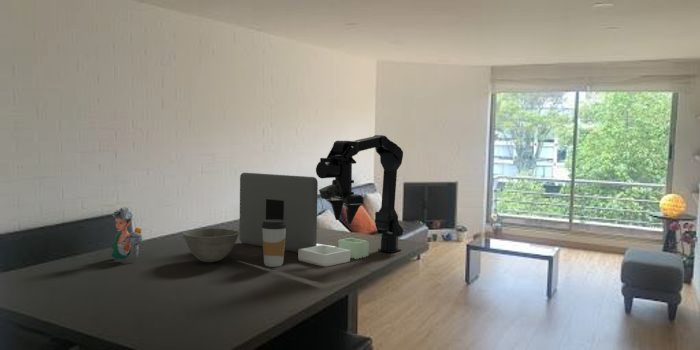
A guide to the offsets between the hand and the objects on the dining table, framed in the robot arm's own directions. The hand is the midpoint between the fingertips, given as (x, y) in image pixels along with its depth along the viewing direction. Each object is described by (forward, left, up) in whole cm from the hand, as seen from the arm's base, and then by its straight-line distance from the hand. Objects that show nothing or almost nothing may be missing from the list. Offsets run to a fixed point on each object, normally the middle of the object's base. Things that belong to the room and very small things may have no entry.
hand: (343, 221), depth 187 cm
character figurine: (+53, -54, -14) cm, 77 cm away
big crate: (+3, -6, -14) cm, 16 cm away
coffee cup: (+20, -13, -14) cm, 28 cm away
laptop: (-9, -34, -15) cm, 38 cm away
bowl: (+32, -32, -15) cm, 48 cm away
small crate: (-10, -4, -14) cm, 18 cm away
